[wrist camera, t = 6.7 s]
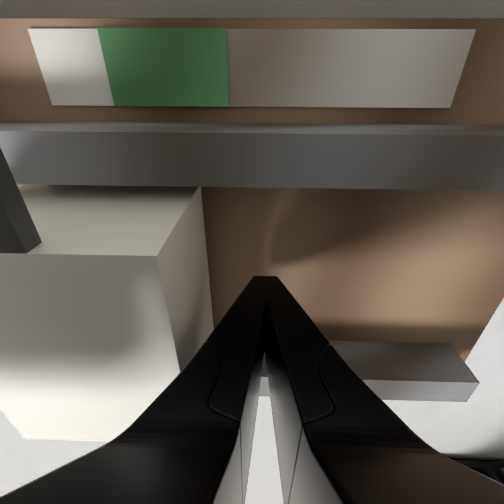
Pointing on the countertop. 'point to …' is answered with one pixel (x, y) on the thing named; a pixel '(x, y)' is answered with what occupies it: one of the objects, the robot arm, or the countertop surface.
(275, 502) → the countertop surface
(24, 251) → the carriage
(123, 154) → the gauge base
